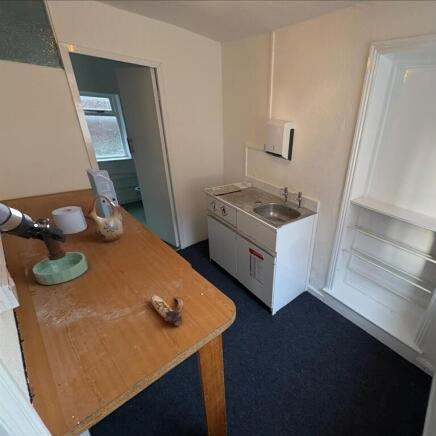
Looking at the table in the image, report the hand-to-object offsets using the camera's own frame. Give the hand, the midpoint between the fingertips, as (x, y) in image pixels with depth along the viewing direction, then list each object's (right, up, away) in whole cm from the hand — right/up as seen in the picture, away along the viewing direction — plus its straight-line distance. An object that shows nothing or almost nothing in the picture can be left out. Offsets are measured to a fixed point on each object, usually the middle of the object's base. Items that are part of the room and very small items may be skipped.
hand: (58, 239), depth 95 cm
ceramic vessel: (0, -3, +28) cm, 28 cm away
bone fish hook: (+52, -25, -11) cm, 59 cm away
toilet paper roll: (-27, +2, +35) cm, 44 cm away
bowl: (0, -14, +3) cm, 15 cm away
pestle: (+1, -7, -1) cm, 7 cm away
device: (-16, +8, +49) cm, 52 cm away
